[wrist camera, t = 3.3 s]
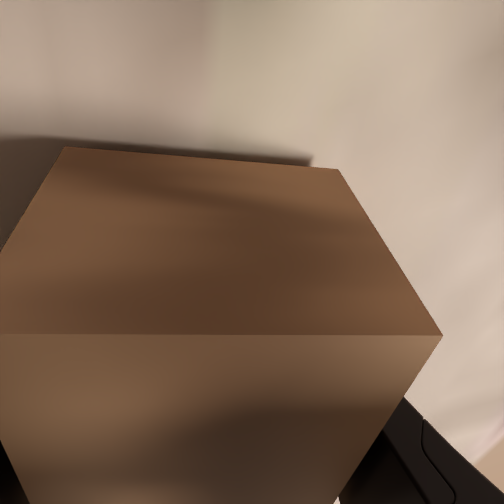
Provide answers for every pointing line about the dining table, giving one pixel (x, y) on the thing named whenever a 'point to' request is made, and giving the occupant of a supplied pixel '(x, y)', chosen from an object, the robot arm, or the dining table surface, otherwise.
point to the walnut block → (199, 332)
